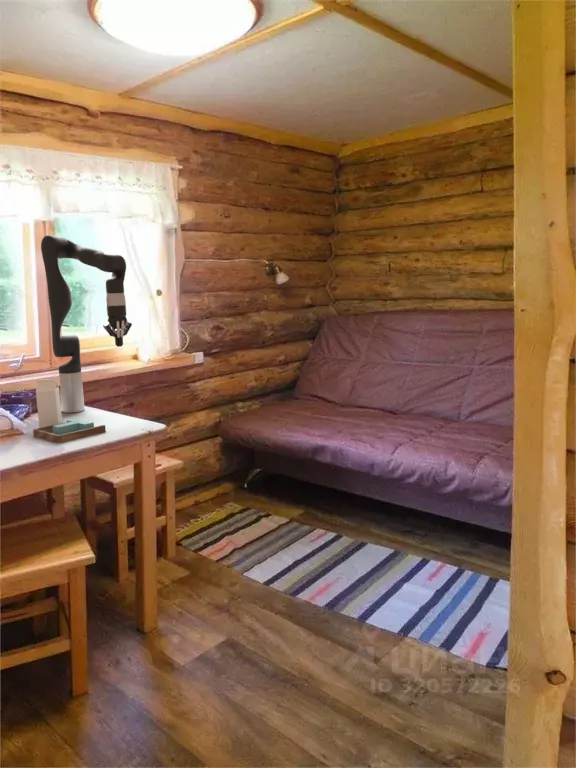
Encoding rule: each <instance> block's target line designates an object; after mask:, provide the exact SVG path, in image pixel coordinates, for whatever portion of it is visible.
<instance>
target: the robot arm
mask: <svg viewBox="0 0 576 768" xmlns="http://www.w3.org/2000/svg"><path fill="white" fill-rule="evenodd" d="M40 252H41V256H42V257H41V258H42V260H43V266H44V271H45V272H44V273H45V277H46V285H47V298H48V306H49V313H50V314H49V315H50V320H51V338H52V339H51V340H52V350H53V355H54V357H56V358H68V357H69V358H70V357H71V359H70V360H69V361H67V362H66V363H63V364H61V365H59V366H58V376H59V377H58V378H59V385H60V387H59V393H60V404H61V412H63V413H67V414H68V413H69V414H70V413H78V412H79V413H80V412H83V411H85V398H84V386H83V376H82V375H83V374H82V365H81V345H80V344H81V343H80V338H79V336H78V335H76V334H68V335H67V334H65V335H61V331H62V330H61V329H62V326H63V323H64V321H65V319H66V317H67V316H68V313H69V312H70V310H71V308H72V305H73V302H72V292H71V287H70V285H69V284H68V281H67V280H66V279H65V276H64V275H63V273H62V272H61V271H62V270H61V269H60V266H59V265H60V264H59V263H60V262H59V260H60V259H71V260H72V259H73V260H77V261H78V262H80V263H82V264H84V265H86V266H90V267H93V268H96V269H98V270H99V271H102V272H105V273H111V277H110V278H108V279H107V280H106V281H105V292H106V299H105V300H106V301H105V302H106V310H107V311H106V312H107V322H106V324H103V328H104V330H105V331H106V333H108V335H109V336H110V337H113V338H114V342H115V346H116V347H117V348H118V347H123V344H124V337H125V336H127V334H128V333H129V331H130V329H131V327H132V326H133V323H132V322H129V320H128V318H127V306H126V305H127V304H126V303H127V301H126V295H125V287H124V282H125V276H126V271H127V262H126V260H125V258H124V257H123V256H122V255H121V254H120V255H119V254H107V253H104V252H103V251H101V250H97V249H96V248H95V249H94V248H91V247H88V246H83V245H80V244H77V243H75V242H73V241H71V240H70V239H68V238H66V237H63V236H58V235H52V234H51V235H50V234H49V235H44V236H43V237H42V238H41V241H40Z"/></svg>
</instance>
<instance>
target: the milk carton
mask: <svg viewBox="0 0 576 768" xmlns="http://www.w3.org/2000/svg"><path fill="white" fill-rule="evenodd" d="M35 398H36V407H37V415H38V416H37V417H38V425H39V426H38V428H42V427H46V426H51V425H56V424H60V423H63V415H62V407H61V397H60V387H59V384H58V382H57V379H56V378H53V379H52V378H49V379H37V380H36V388H35Z"/></svg>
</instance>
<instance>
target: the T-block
mask: <svg viewBox="0 0 576 768" xmlns="http://www.w3.org/2000/svg"><path fill="white" fill-rule="evenodd" d="M65 422H67V423H65ZM65 422H63V423H64V424H59V425H55V426H53V433H54V434H57V435H62V434H66V433H70V432H75V431H79V430H83V429H87V428H92V427H95V423H94V421H91V420H86V419H80V418H77V417H75V418H70V419H66V421H65Z"/></svg>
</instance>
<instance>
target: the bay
mask: <svg viewBox="0 0 576 768" xmlns="http://www.w3.org/2000/svg"><path fill="white" fill-rule="evenodd" d="M64 423H67V422H66V421H65V422H62V423H60V424H64ZM56 425H59V424H56ZM53 426H55V425H51V426H46V427H42V428H39V427H38V428H34V429H32V433H33V434H32V435H34V436H33V437H35V436H37V437H36V438H39V437H40V438H39V439H42V438H43V440H47V441H49V442H53V443H57V444H61V443H65V442H68V441H72V440H73V441H74V440H77V439H81V438H85V437H89V436H94V435H97V434H102V433H105V432H107V430H106V424H100V425H97V426H94V427H92V428H87V429H83V430H79V431H75V432H70V433H66V434H62V435H57V434H54V433H53Z"/></svg>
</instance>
